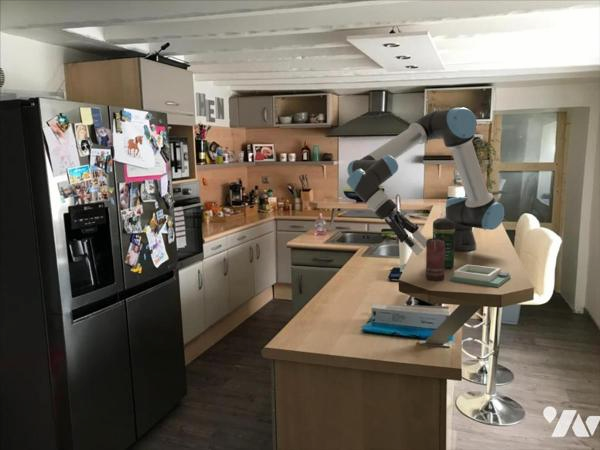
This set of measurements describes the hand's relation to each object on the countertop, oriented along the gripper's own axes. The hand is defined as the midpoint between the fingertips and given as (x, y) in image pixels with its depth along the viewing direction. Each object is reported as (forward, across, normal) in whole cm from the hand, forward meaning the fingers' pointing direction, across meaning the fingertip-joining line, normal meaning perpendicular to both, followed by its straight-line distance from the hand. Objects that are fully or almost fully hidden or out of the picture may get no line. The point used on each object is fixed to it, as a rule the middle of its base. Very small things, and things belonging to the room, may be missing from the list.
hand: (424, 249), depth 171 cm
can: (+10, 0, -5) cm, 11 cm away
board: (+20, -5, +6) cm, 22 cm away
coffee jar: (+10, -20, -5) cm, 23 cm away
